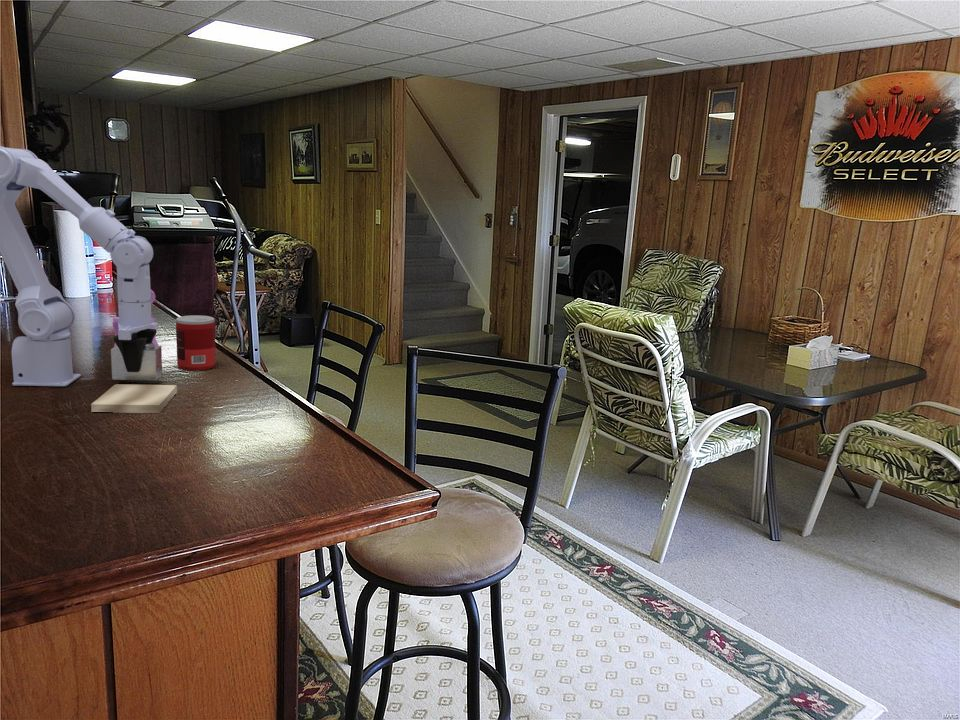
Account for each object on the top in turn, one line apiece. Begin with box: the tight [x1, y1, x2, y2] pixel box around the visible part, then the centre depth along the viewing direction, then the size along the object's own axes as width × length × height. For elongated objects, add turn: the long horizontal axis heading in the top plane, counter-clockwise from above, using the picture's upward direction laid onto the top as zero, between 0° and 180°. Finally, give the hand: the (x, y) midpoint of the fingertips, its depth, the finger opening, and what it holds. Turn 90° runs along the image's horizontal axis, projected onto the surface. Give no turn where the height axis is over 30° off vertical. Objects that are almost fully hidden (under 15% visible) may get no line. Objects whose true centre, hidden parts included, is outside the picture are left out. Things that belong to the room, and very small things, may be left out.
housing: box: [110, 342, 163, 381], centre depth 137 cm, size 8×4×7 cm, turn 100°
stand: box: [90, 383, 178, 414], centre depth 127 cm, size 11×13×2 cm
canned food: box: [175, 314, 216, 372], centre depth 153 cm, size 8×8×11 cm
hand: (137, 368), depth 137 cm, fingers closed on housing, 4 cm apart
